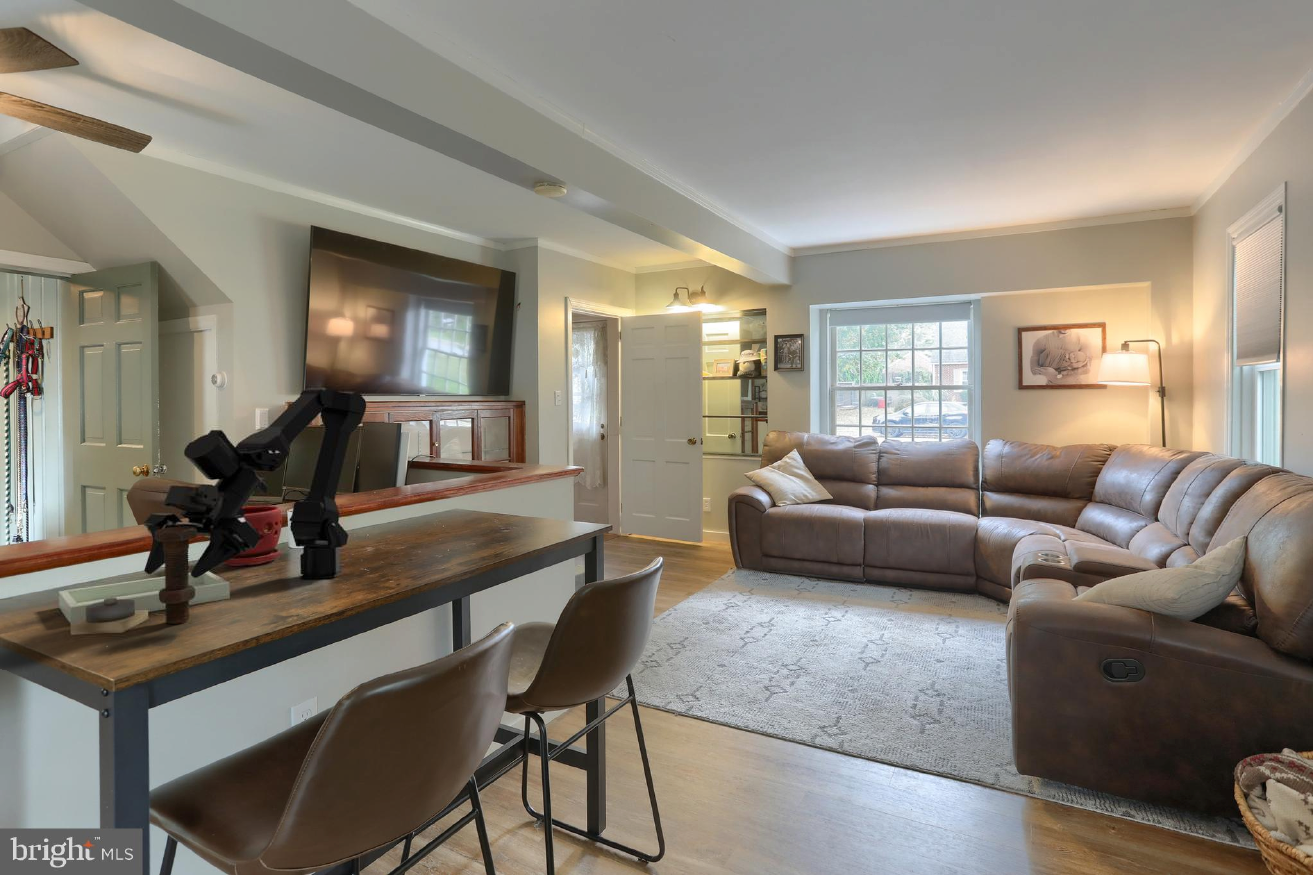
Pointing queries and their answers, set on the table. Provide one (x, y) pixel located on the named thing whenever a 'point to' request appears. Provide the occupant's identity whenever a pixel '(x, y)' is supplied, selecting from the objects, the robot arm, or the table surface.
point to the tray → (139, 594)
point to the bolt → (176, 572)
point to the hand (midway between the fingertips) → (169, 574)
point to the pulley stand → (109, 617)
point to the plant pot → (261, 536)
